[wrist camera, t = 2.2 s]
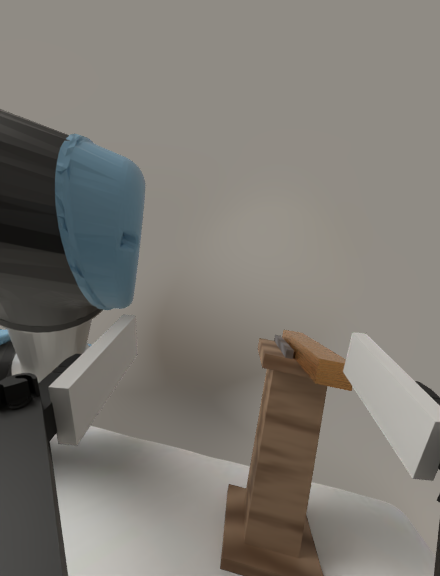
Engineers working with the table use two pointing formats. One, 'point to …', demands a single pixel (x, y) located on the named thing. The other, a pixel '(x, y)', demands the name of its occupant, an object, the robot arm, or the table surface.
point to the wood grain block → (318, 361)
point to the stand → (277, 475)
